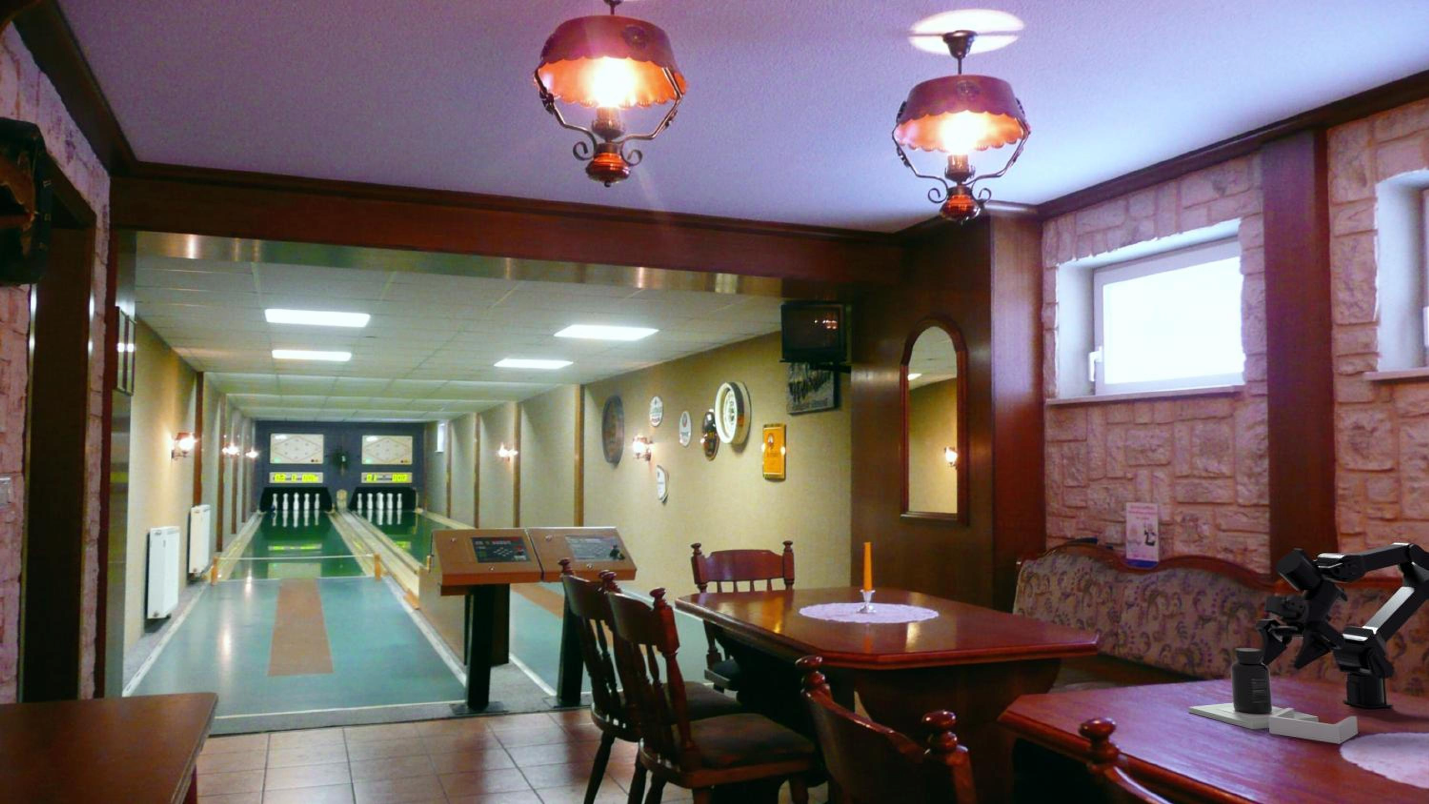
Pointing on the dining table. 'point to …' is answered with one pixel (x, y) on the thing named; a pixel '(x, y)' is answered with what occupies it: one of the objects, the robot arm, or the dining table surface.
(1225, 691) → the dining table surface
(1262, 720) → the docking plate
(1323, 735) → the holster
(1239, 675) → the supplement bottle
